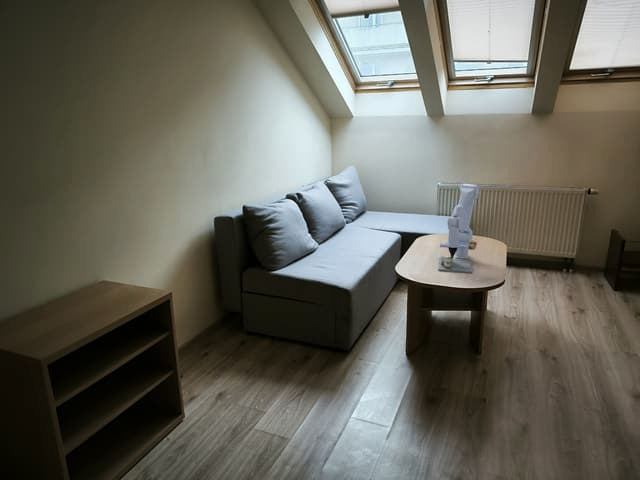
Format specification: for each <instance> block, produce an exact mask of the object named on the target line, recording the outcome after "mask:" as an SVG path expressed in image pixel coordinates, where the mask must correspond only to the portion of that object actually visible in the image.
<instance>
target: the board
mask: <svg viewBox="0 0 640 480" xmlns="http://www.w3.org/2000/svg"><path fill="white" fill-rule="evenodd" d="M444 265H445V260H444ZM444 265H441V257H438V267H437V268H438V270H437V271H439V272H447V273H448V272H449V273H460V274H461V273H463V274H473V267H472V266H473V265H472V259H463V258H453V260H451V268H445V267H444Z"/></svg>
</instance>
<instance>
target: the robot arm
mask: <svg viewBox="0 0 640 480" xmlns="http://www.w3.org/2000/svg"><path fill="white" fill-rule="evenodd" d="M459 186H460V187H459V194H460V197H459V201H458V204H457V205H456V206H455V207H454V209H453V211H452V214H451V215H450V216H449V217H448V219H447V230H448V237H447V238H448V239H447V240H448V241H447V242H446V243H439V248H448V251H449V255H451V257H453V258H454V259H466V260H470V259H469V249H468V247H469V243H470V242H471V241H472V240H473V230H472V229H471V228H470V225H471V224H470V223H471V220H472V214H473V210H474V204H475V201H477V200H478V198H479V193H480V186H479V185H478V184H469V183H462V184H460V185H459Z"/></svg>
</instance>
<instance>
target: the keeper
mask: <svg viewBox="0 0 640 480" xmlns="http://www.w3.org/2000/svg"><path fill="white" fill-rule="evenodd" d="M440 258H441V265H444V260H453V259H454V257H446V256H443V255H442V256H440Z"/></svg>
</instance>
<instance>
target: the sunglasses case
mask: <svg viewBox="0 0 640 480" xmlns="http://www.w3.org/2000/svg"><path fill="white" fill-rule="evenodd" d="M476 244H477V241H475V240H473V239H472V241H471V242H470V243H469V247H468V250H476Z"/></svg>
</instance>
